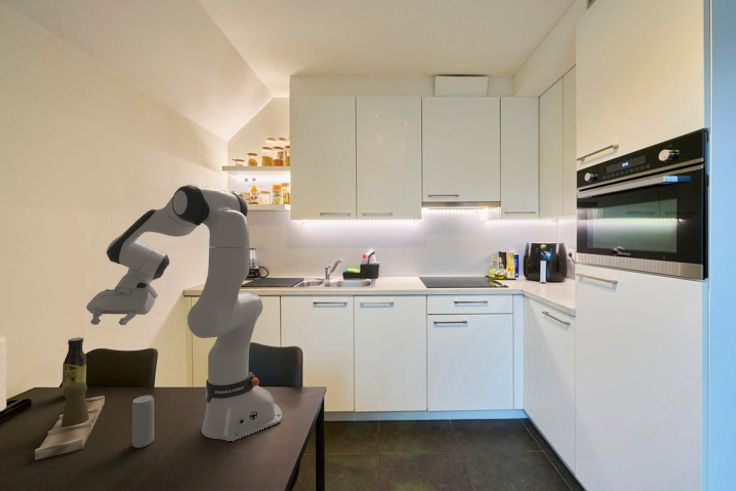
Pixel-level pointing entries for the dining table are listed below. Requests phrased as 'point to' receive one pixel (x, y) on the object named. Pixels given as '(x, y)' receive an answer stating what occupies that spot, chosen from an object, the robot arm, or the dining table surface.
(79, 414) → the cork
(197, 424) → the dining table surface
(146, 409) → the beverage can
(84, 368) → the sauce bottle
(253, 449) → the dining table surface
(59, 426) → the ledge board
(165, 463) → the dining table surface
